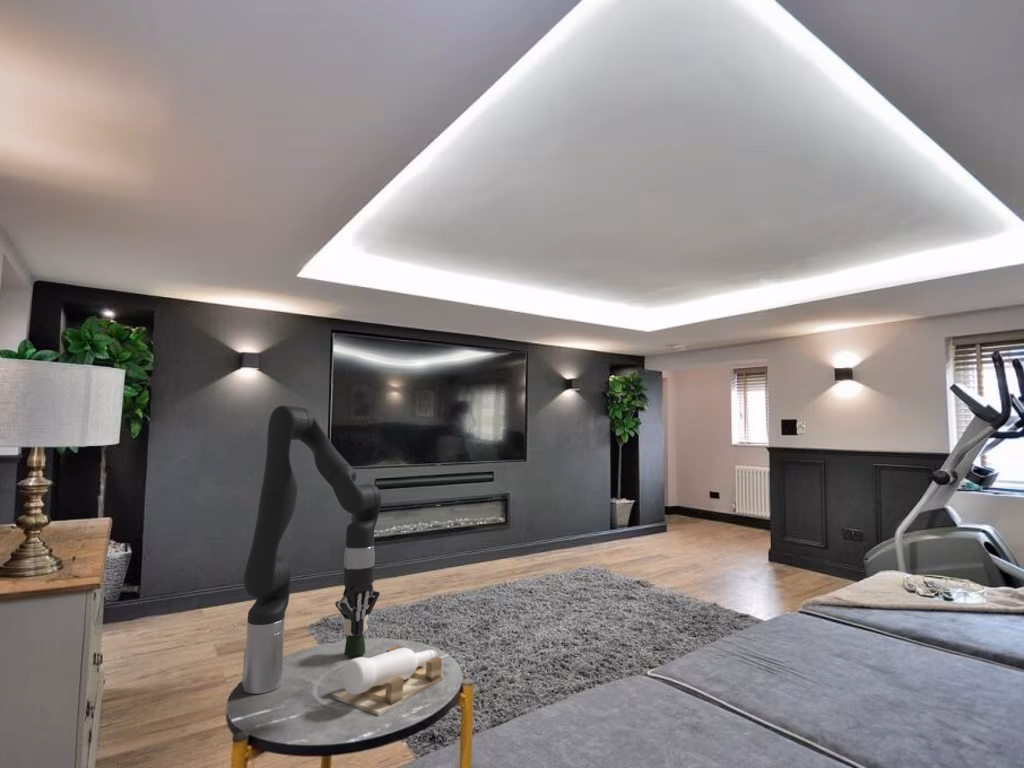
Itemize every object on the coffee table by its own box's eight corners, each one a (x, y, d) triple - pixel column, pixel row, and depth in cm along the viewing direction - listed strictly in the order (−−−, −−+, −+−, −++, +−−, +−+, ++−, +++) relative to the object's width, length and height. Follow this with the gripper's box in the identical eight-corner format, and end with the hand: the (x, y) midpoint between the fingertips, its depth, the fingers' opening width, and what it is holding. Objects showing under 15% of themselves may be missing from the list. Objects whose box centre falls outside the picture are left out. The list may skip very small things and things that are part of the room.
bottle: (366, 673, 130) (448, 651, 154) (348, 652, 135) (430, 634, 159) (353, 703, 130) (437, 676, 154) (336, 681, 135) (420, 659, 159)
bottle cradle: (331, 697, 137) (332, 673, 138) (398, 664, 157) (399, 644, 158) (378, 715, 128) (379, 690, 129) (443, 678, 148) (443, 656, 149)
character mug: (373, 657, 162) (374, 613, 164) (350, 663, 158) (352, 617, 159) (358, 646, 171) (360, 604, 172) (336, 652, 166) (338, 609, 168)
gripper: (368, 557, 144) (366, 624, 142) (328, 567, 133) (325, 640, 131) (388, 561, 140) (386, 630, 138) (348, 571, 129) (346, 646, 127)
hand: (356, 634), depth 134 cm, fingers closed
